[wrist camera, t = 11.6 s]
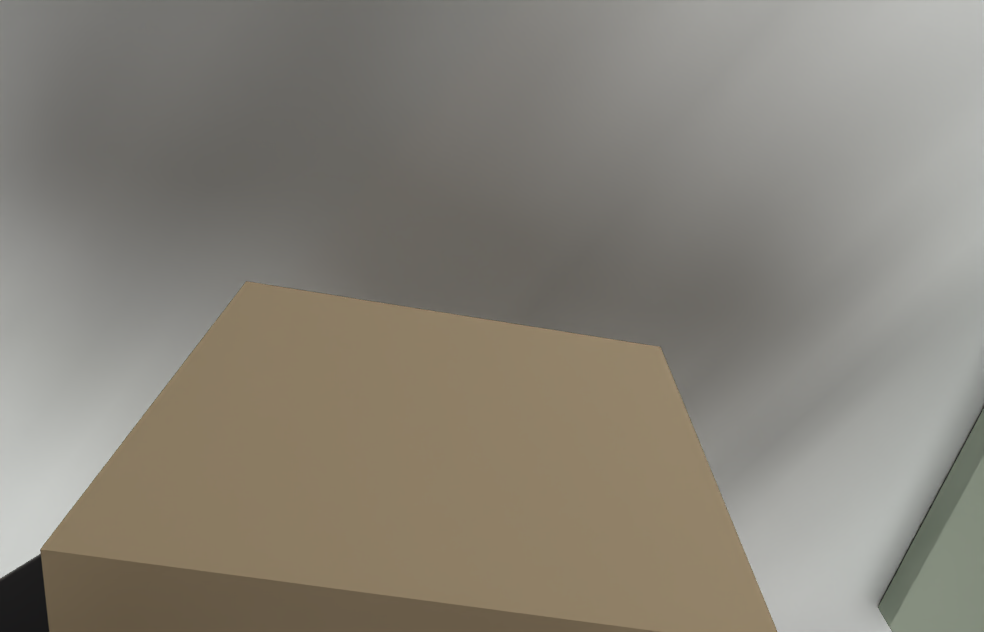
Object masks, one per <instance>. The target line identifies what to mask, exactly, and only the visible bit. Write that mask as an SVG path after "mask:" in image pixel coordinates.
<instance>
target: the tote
mask: <svg viewBox="0 0 984 632" xmlns="http://www.w3.org/2000/svg"><path fill="white" fill-rule="evenodd" d="M878 608H879V610H880V612H881V614H882V615H883V617H884V619H885V620H886V622H887V624H888V626H889V627H890V629H891V631H892V632H984V409H983V411H982V413H981V414H980V416H979V418H978V420H977V422H976V424H975V426H974V428H973V430H972V431H971V433H970V435H969V437H968V439H967V441H966V443H965V445H964V447H963V448H962V450H961V452H960V454H959V456H958V458H957V460H956V462H955V463H954V465H953V467H952V469H951V471H950V473H949V475H948V477H947V479H946V480H945V482H944V484H943V486H942V488H941V490H940V492H939V494H938V495H937V497H936V499H935V501H934V503H933V505H932V507H931V509H930V511H929V512H928V514H927V516H926V518H925V520H924V522H923V524H922V526H921V527H920V529H919V531H918V533H917V535H916V537H915V539H914V541H913V543H912V544H911V546H910V548H909V550H908V552H907V554H906V556H905V558H904V559H903V561H902V563H901V565H900V567H899V569H898V571H897V573H896V575H895V576H894V578H893V580H892V582H891V584H890V586H889V588H888V590H887V591H886V593H885V595H884V597H883V599H882V601H881V603H880V605H879V607H878Z"/></svg>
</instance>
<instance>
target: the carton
mask: <svg viewBox="0 0 984 632" xmlns="http://www.w3.org/2000/svg"><path fill="white" fill-rule="evenodd" d="M40 551H41V560H42V569H43V578H44V588H45V597H46V606H47V615H48V624H49V632H777V630H776V627H775V625H774V622H773V620H772V618H771V615H770V613H769V610H768V608H767V605H766V603H765V600H764V598H763V596H762V593H761V591H760V588H759V586H758V583H757V581H756V579H755V576H754V574H753V571H752V569H751V566H750V564H749V561H748V559H747V557H746V554H745V552H744V549H743V547H742V544H741V542H740V540H739V537H738V535H737V532H736V530H735V527H734V525H733V522H732V520H731V518H730V515H729V513H728V510H727V508H726V505H725V503H724V501H723V498H722V496H721V493H720V491H719V488H718V486H717V484H716V481H715V479H714V476H713V474H712V471H711V469H710V466H709V464H708V462H707V459H706V457H705V454H704V452H703V449H702V447H701V445H700V442H699V440H698V437H697V435H696V432H695V430H694V427H693V425H692V423H691V420H690V418H689V415H688V413H687V410H686V408H685V406H684V403H683V401H682V398H681V396H680V393H679V391H678V388H677V386H676V384H675V381H674V379H673V376H672V374H671V371H670V369H669V367H668V364H667V362H666V359H665V357H664V354H663V352H662V349H661V347H658V346H652V345H646V344H639V343H633V342H627V341H620V340H614V339H608V338H601V337H595V336H589V335H582V334H576V333H570V332H563V331H557V330H551V329H544V328H538V327H532V326H525V325H519V324H513V323H507V322H500V321H494V320H488V319H481V318H475V317H469V316H462V315H456V314H450V313H443V312H437V311H431V310H424V309H418V308H412V307H405V306H399V305H393V304H386V303H380V302H374V301H367V300H361V299H355V298H349V297H342V296H336V295H330V294H323V293H317V292H311V291H304V290H298V289H292V288H285V287H279V286H273V285H266V284H260V283H254V282H247V281H246V282H245V284H244V285H243V286H242V287H241V289H240V290H239V291H238V293H237V294H236V295H235V297H234V298H233V299H232V301H231V302H230V303H229V304H228V306H227V307H226V308H225V310H224V311H223V312H222V314H221V315H220V316H219V317H218V319H217V320H216V321H215V323H214V324H213V325H212V327H211V328H210V329H209V330H208V332H207V333H206V334H205V336H204V337H203V338H202V340H201V341H200V342H199V343H198V345H197V346H196V347H195V349H194V350H193V351H192V353H191V354H190V355H189V356H188V358H187V359H186V360H185V362H184V363H183V364H182V366H181V367H180V368H179V369H178V371H177V372H176V373H175V375H174V376H173V377H172V379H171V380H170V381H169V383H168V384H167V385H166V386H165V388H164V389H163V390H162V392H161V393H160V394H159V396H158V397H157V398H156V399H155V401H154V402H153V403H152V405H151V406H150V407H149V409H148V410H147V411H146V412H145V414H144V415H143V416H142V418H141V419H140V420H139V422H138V423H137V424H136V425H135V427H134V428H133V429H132V431H131V432H130V433H129V435H128V436H127V437H126V438H125V440H124V441H123V442H122V444H121V445H120V446H119V448H118V449H117V450H116V451H115V453H114V454H113V455H112V457H111V458H110V459H109V461H108V462H107V463H106V465H105V466H104V467H103V468H102V470H101V471H100V472H99V474H98V475H97V476H96V478H95V479H94V480H93V481H92V483H91V484H90V485H89V487H88V488H87V489H86V491H85V492H84V493H83V494H82V496H81V497H80V498H79V500H78V501H77V502H76V504H75V505H74V506H73V507H72V509H71V510H70V511H69V513H68V514H67V515H66V517H65V518H64V519H63V520H62V522H61V523H60V524H59V526H58V527H57V528H56V530H55V531H54V532H53V533H52V535H51V536H50V537H49V539H48V540H47V541H46V543H45V544H44V545H43V547H42V548H41V549H40Z"/></svg>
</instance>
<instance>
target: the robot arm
mask: <svg viewBox="0 0 984 632" xmlns="http://www.w3.org/2000/svg"><path fill="white" fill-rule="evenodd" d="M0 632H49V624H48V615H47V606H46V597H45V588H44V578H43V569H42V560H41V554H39V555H38V556H36V557H35V558H33V559H31V560H30V561H28V562H26V563H25V564H23V565H22V566H20V567H18V568H17V569H15V570H14V571H12V572H10V573H9V574H7V575H5V576H4V577H2V578H1V579H0Z"/></svg>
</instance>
